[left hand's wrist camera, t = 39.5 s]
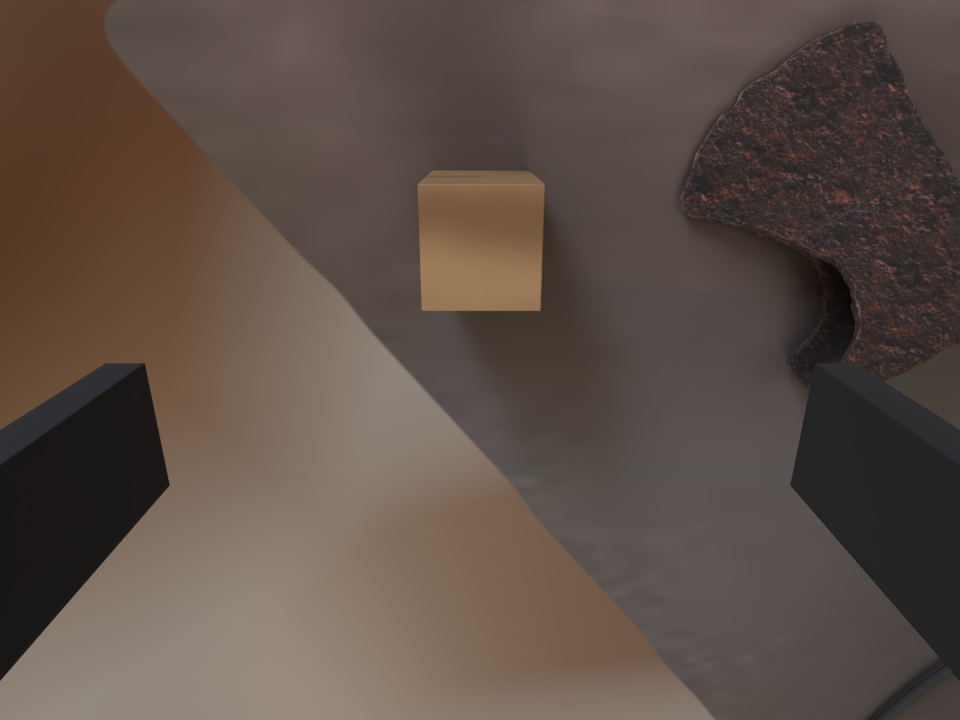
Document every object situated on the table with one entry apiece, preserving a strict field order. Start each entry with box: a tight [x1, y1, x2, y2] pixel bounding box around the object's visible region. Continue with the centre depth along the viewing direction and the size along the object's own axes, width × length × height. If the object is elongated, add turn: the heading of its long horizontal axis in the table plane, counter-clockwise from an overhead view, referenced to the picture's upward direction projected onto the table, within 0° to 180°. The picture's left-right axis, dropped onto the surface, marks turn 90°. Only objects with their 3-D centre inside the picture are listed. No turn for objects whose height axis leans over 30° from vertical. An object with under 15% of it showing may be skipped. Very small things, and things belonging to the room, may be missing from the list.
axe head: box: [680, 21, 960, 392], centre depth 36 cm, size 18×8×15 cm
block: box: [418, 170, 545, 311], centre depth 34 cm, size 6×6×10 cm
